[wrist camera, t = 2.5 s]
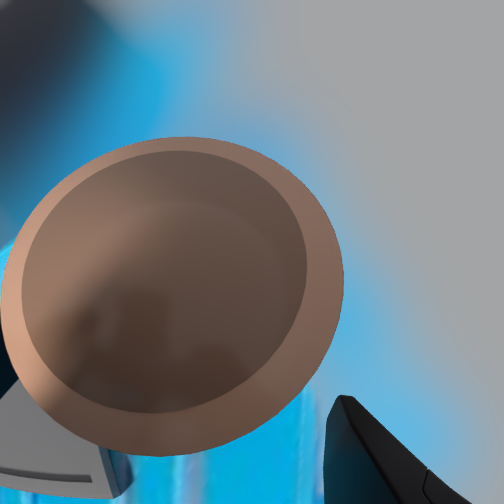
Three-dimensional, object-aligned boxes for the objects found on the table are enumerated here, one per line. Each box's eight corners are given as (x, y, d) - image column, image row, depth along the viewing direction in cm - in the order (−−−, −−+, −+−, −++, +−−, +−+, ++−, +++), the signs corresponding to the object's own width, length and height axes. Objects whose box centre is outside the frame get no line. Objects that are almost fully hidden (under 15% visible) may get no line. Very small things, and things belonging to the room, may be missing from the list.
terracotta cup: (280, 416, 14) (407, 376, 4) (170, 442, 13) (5, 458, 2) (247, 318, 18) (269, 119, 7) (147, 341, 16) (26, 174, 6)
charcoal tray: (121, 495, 11) (113, 498, 10) (-14, 479, 8) (-24, 479, 7) (87, 310, 17) (79, 302, 16) (-27, 332, 15) (-36, 326, 14)
